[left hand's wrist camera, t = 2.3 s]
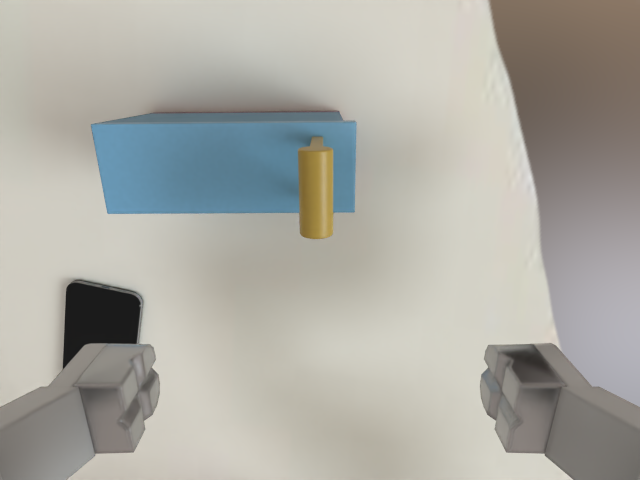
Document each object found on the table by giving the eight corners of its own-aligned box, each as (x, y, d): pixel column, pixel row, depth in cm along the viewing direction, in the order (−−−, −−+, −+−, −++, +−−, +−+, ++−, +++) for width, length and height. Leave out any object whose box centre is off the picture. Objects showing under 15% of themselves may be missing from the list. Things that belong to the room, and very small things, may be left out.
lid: (355, 120, 27) (367, 135, 20) (353, 207, 29) (363, 252, 22) (99, 122, 28) (13, 138, 20) (115, 209, 30) (42, 253, 22)
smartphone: (142, 296, 42) (128, 416, 47) (144, 293, 42) (131, 412, 47) (65, 280, 41) (60, 403, 46) (69, 277, 42) (64, 399, 47)
